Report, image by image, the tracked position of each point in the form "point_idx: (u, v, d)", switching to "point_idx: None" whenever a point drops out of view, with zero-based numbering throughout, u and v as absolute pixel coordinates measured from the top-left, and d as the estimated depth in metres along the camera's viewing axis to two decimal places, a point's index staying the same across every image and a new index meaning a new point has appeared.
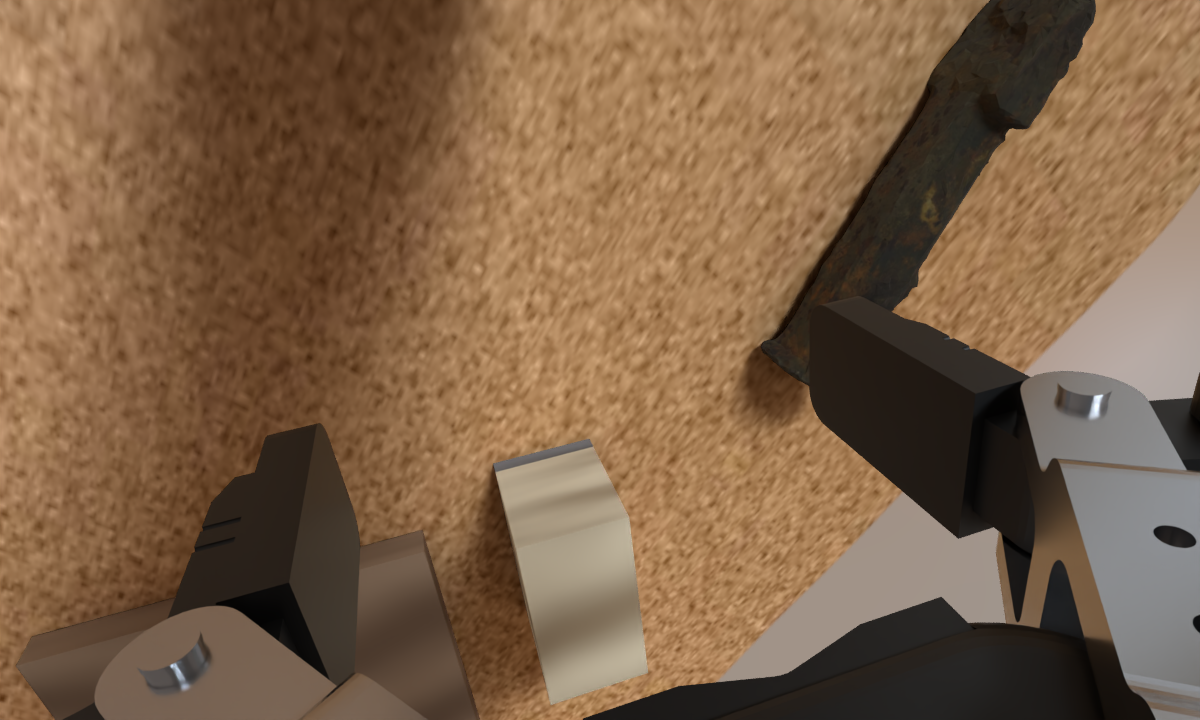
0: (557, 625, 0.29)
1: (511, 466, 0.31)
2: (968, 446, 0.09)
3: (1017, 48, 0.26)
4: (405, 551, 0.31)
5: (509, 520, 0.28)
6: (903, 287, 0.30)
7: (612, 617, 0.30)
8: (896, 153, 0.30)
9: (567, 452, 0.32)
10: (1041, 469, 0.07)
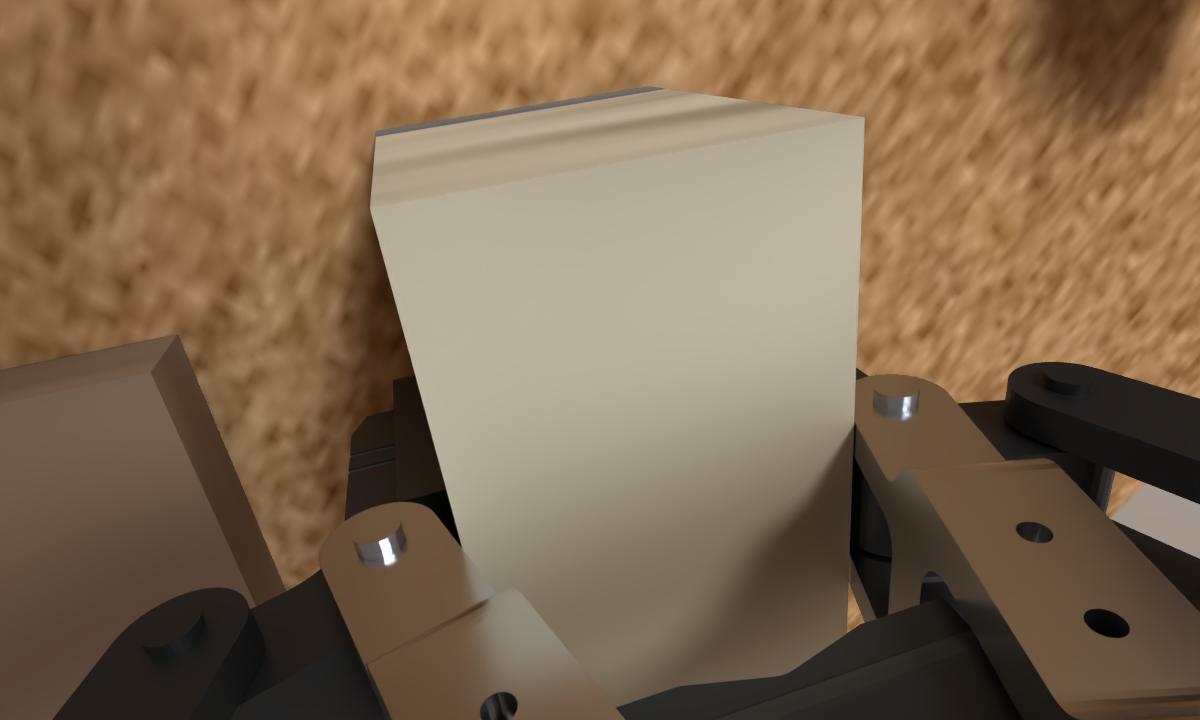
0: (565, 594, 0.08)
1: (426, 127, 0.10)
2: None
3: None
4: (96, 375, 0.10)
5: (377, 175, 0.07)
6: None
7: (760, 569, 0.08)
8: None
9: (592, 100, 0.11)
10: (888, 479, 0.07)
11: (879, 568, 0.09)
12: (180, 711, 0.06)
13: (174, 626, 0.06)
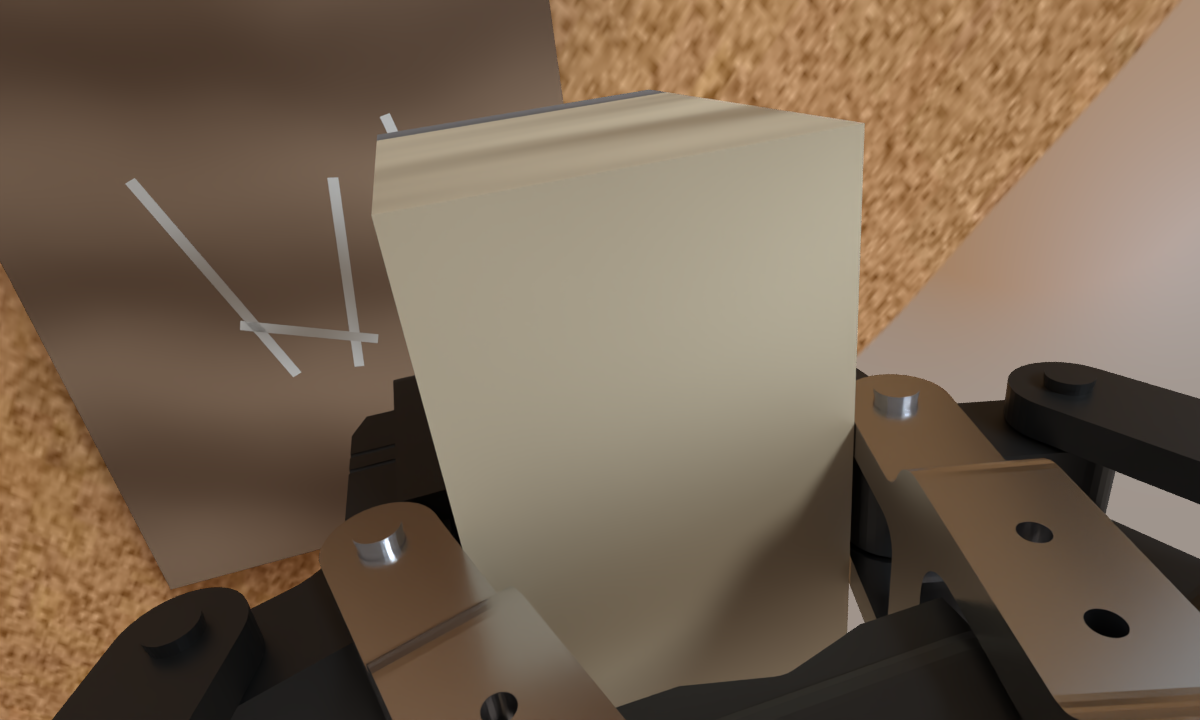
0: (566, 598, 0.08)
1: (427, 131, 0.10)
2: None
3: None
4: None
5: (378, 180, 0.07)
6: None
7: (761, 572, 0.08)
8: None
9: (592, 103, 0.11)
10: (888, 479, 0.07)
11: (879, 568, 0.09)
12: (180, 711, 0.06)
13: (173, 627, 0.06)
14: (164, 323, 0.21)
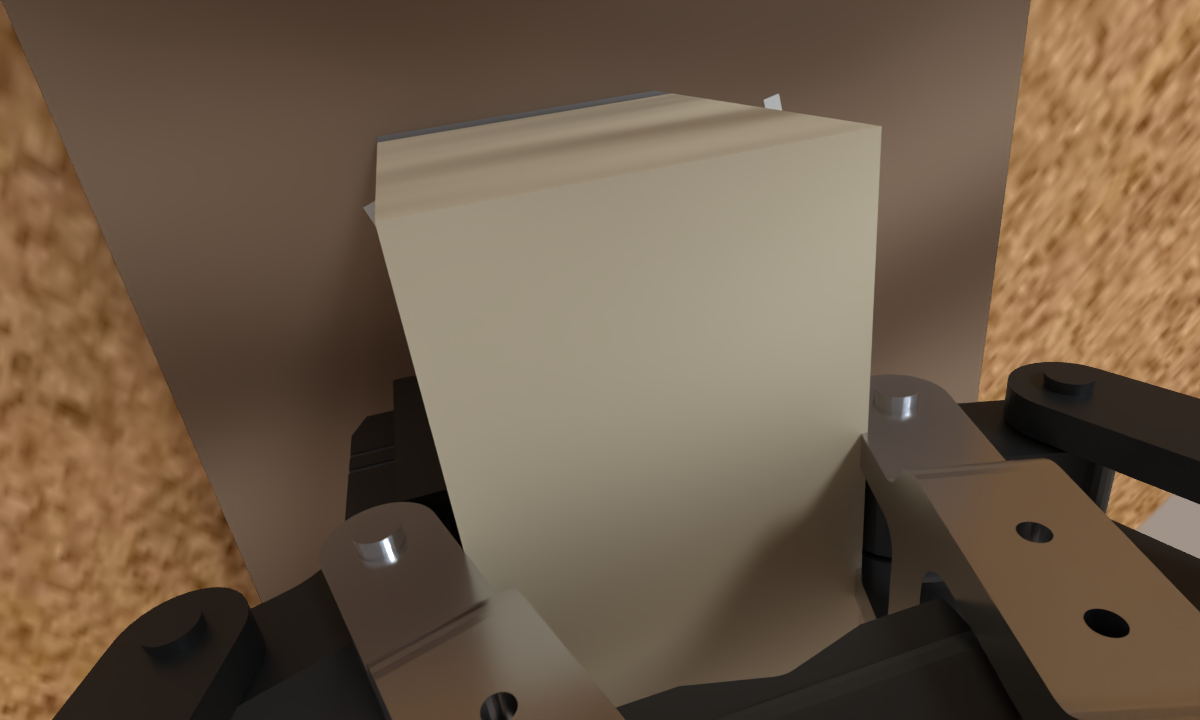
0: (573, 612, 0.08)
1: (428, 133, 0.10)
2: None
3: None
4: None
5: (381, 184, 0.07)
6: None
7: (771, 585, 0.08)
8: None
9: (596, 105, 0.11)
10: (888, 479, 0.07)
11: (879, 568, 0.09)
12: (180, 711, 0.06)
13: (173, 627, 0.06)
14: None
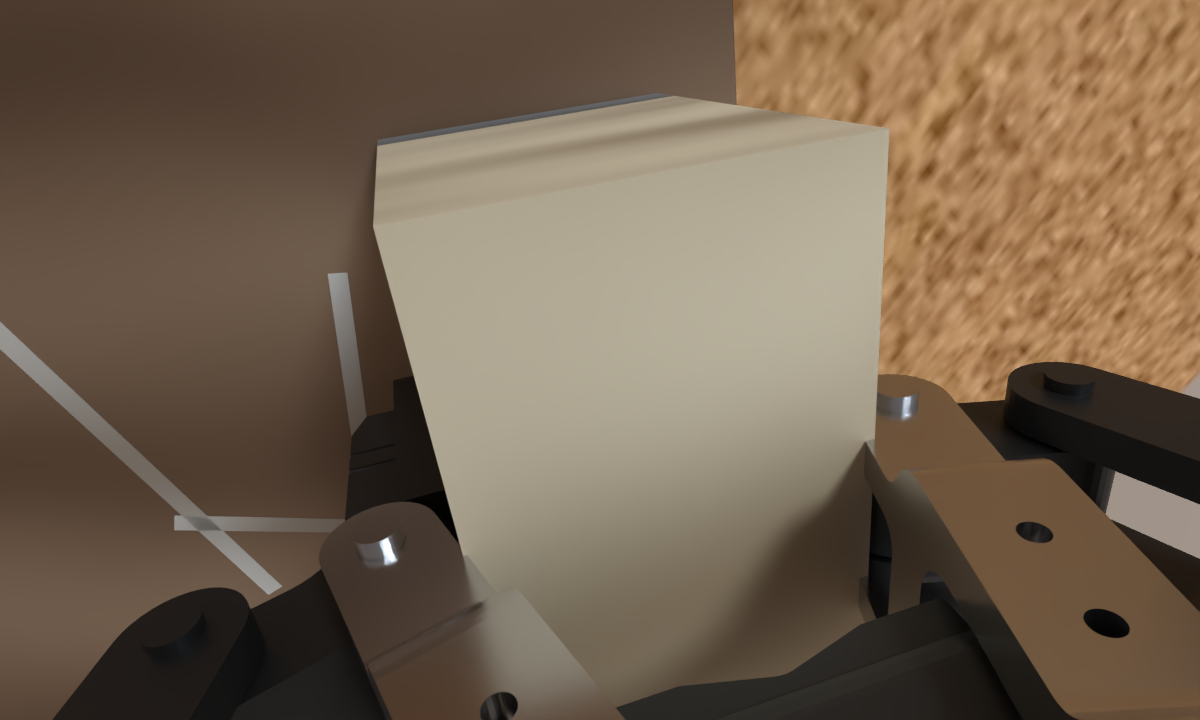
0: (576, 623, 0.07)
1: (429, 136, 0.10)
2: None
3: None
4: None
5: (380, 188, 0.07)
6: None
7: (776, 593, 0.08)
8: None
9: (599, 107, 0.11)
10: (888, 479, 0.07)
11: (879, 568, 0.09)
12: (180, 711, 0.06)
13: (174, 626, 0.06)
14: (34, 528, 0.12)
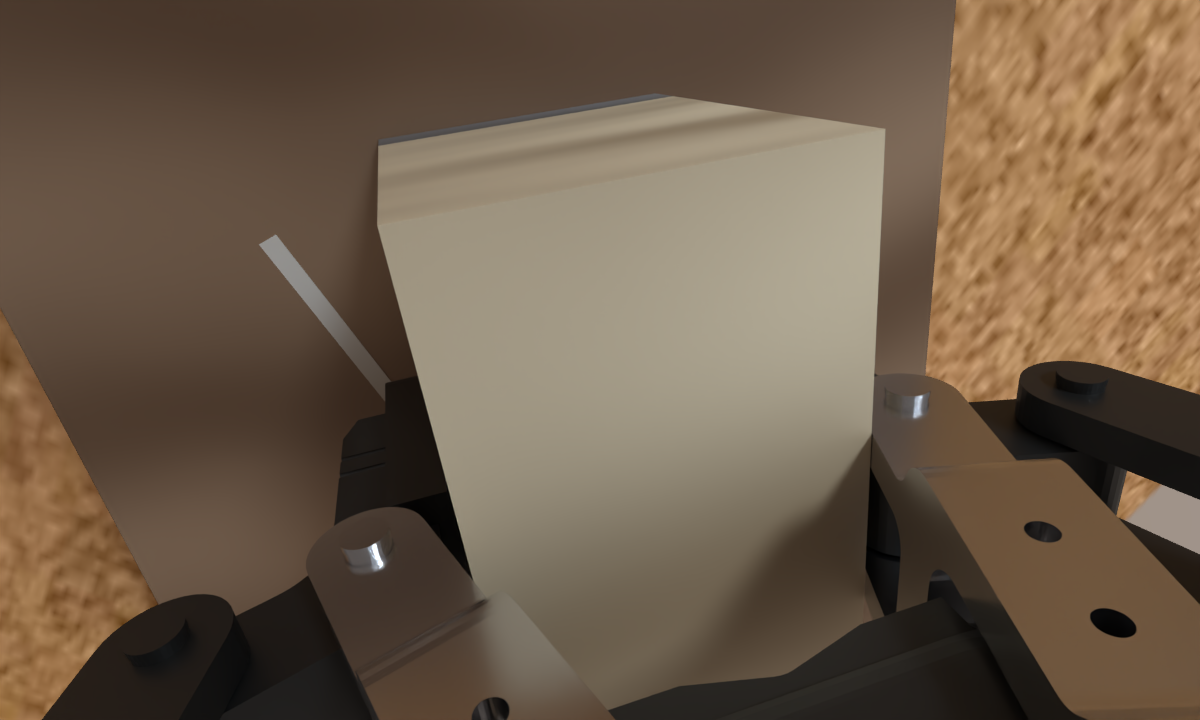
0: (576, 617, 0.08)
1: (429, 136, 0.10)
2: None
3: None
4: None
5: (382, 188, 0.07)
6: None
7: (774, 589, 0.08)
8: None
9: (598, 108, 0.11)
10: (897, 478, 0.07)
11: (889, 567, 0.09)
12: (165, 718, 0.05)
13: (157, 634, 0.06)
14: (305, 468, 0.13)
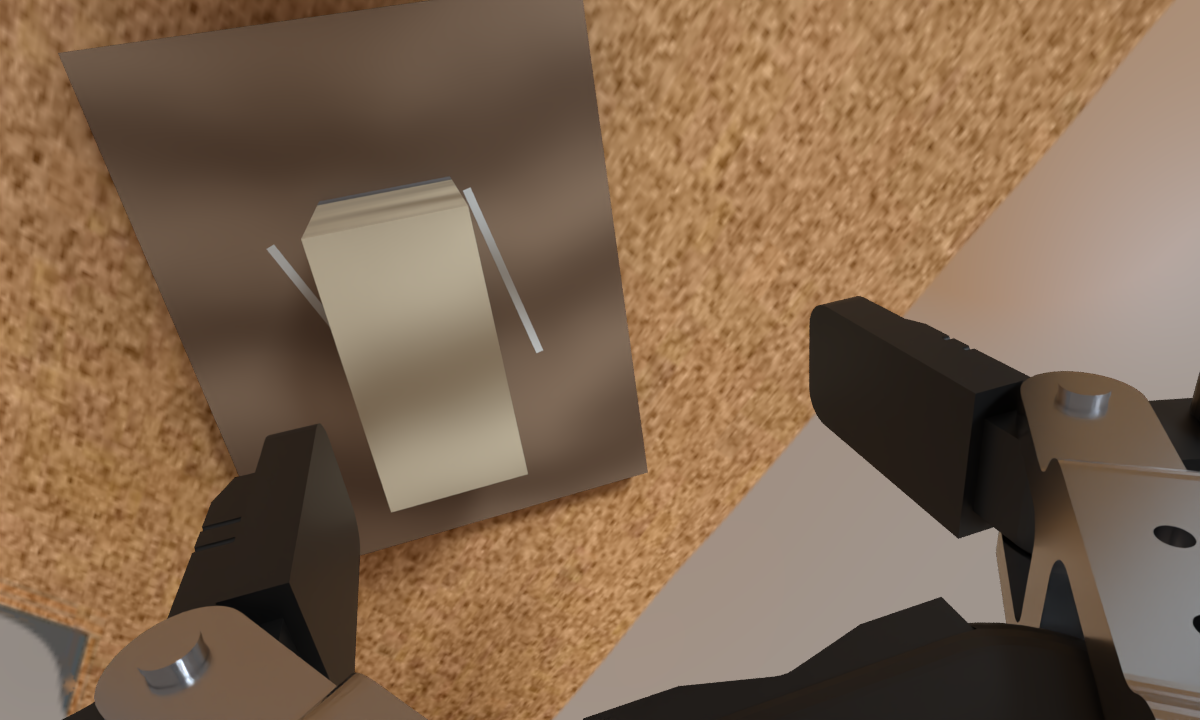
0: (382, 380, 0.21)
1: (340, 200, 0.24)
2: (968, 446, 0.09)
3: None
4: None
5: (309, 226, 0.20)
6: None
7: (465, 376, 0.21)
8: None
9: (416, 185, 0.24)
10: (1041, 469, 0.07)
11: None
12: None
13: None
14: (289, 357, 0.26)
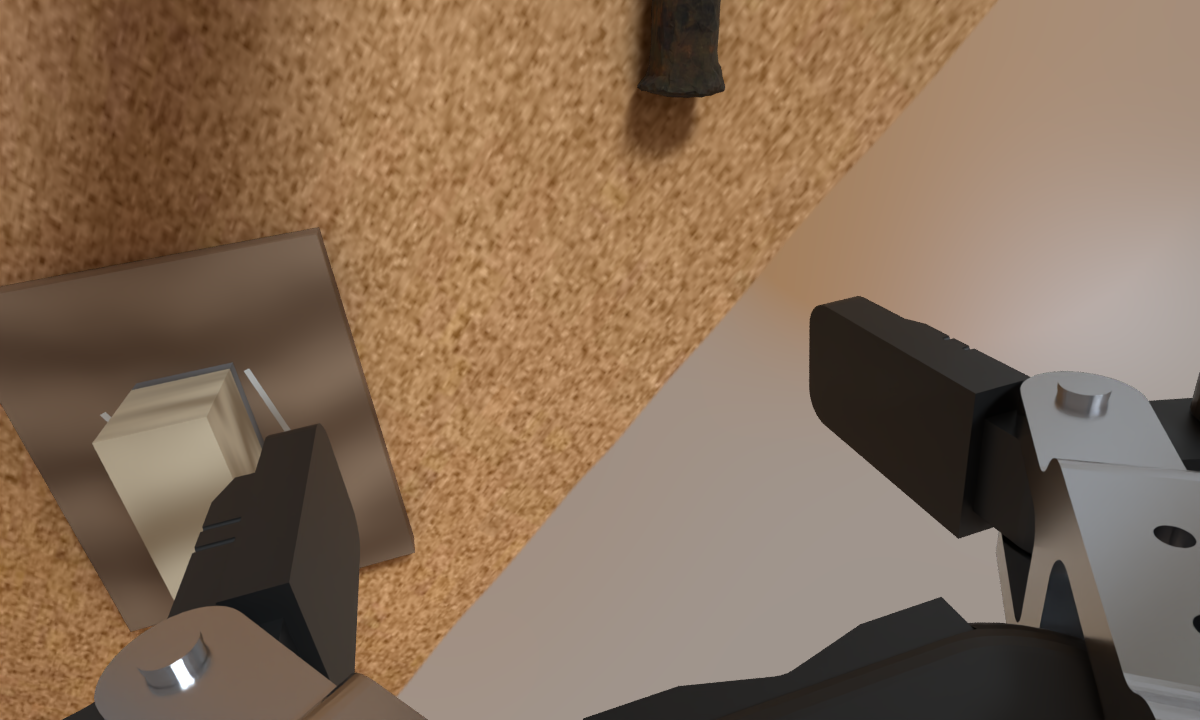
0: (159, 522, 0.32)
1: (148, 385, 0.34)
2: (968, 446, 0.09)
3: None
4: (299, 235, 0.34)
5: (107, 423, 0.31)
6: None
7: None
8: None
9: (204, 373, 0.35)
10: (1041, 469, 0.07)
11: None
12: None
13: None
14: None
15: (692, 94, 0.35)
